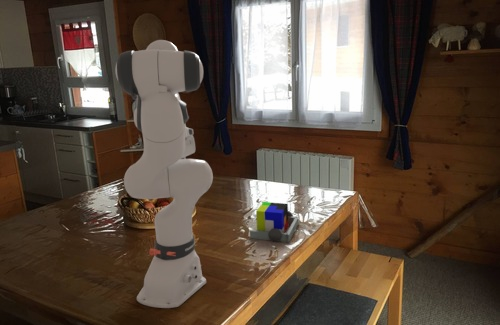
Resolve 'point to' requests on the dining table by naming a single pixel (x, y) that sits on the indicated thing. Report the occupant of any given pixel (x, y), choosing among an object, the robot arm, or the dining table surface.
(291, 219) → the tray
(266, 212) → the puzzle toy
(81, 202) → the dining table surface
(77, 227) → the dining table surface
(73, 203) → the dining table surface
